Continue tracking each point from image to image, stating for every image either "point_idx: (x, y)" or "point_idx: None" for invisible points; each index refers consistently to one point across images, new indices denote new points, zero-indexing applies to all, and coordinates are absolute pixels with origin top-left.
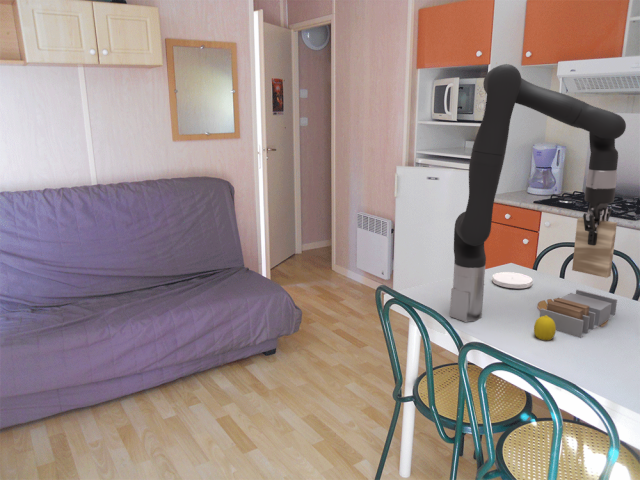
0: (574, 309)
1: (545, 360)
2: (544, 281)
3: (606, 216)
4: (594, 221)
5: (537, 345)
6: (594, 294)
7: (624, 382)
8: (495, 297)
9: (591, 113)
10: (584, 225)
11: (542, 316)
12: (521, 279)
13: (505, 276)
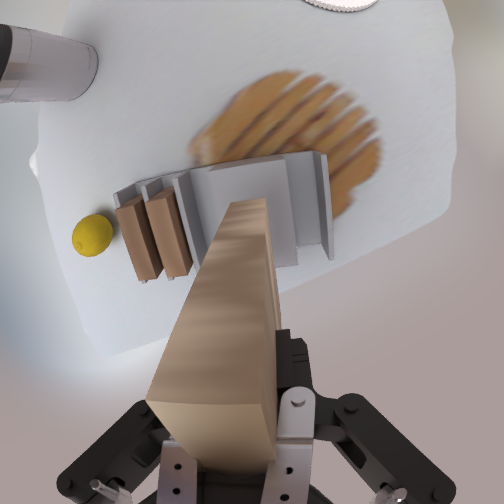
0: (139, 267)
1: (75, 264)
2: (412, 22)
3: (369, 484)
4: (138, 483)
5: None
6: (326, 206)
7: (126, 341)
8: (207, 5)
9: None
10: (108, 429)
11: (76, 238)
12: None
13: None
